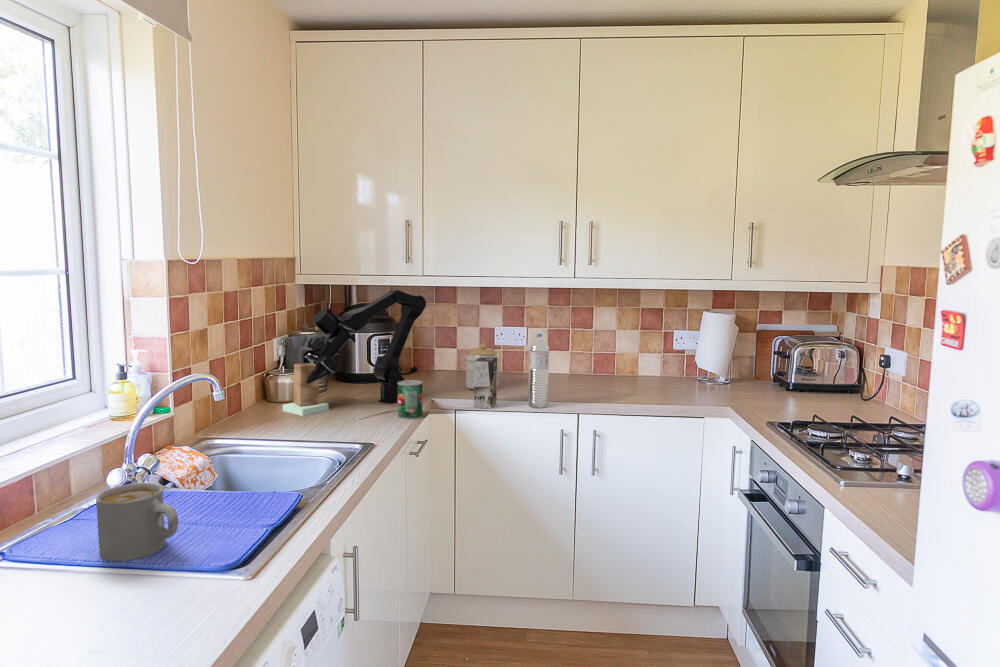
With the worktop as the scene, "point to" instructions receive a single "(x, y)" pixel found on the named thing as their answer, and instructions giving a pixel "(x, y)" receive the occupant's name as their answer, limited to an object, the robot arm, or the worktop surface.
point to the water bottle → (538, 373)
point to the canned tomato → (410, 399)
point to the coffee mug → (133, 521)
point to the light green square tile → (309, 414)
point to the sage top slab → (305, 408)
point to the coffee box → (485, 382)
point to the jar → (473, 356)
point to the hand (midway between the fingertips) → (301, 380)
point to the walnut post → (305, 385)
